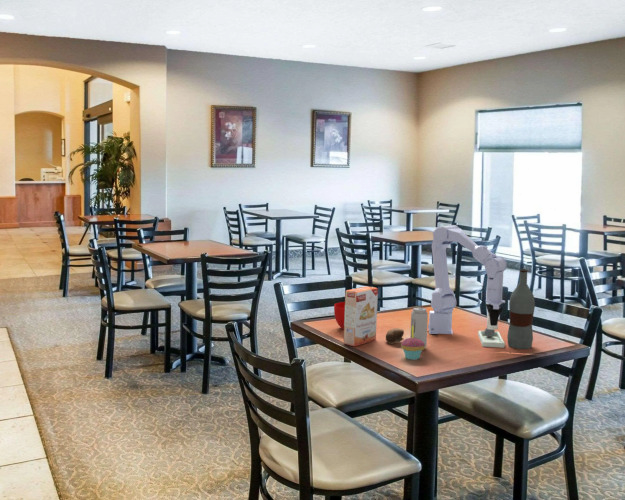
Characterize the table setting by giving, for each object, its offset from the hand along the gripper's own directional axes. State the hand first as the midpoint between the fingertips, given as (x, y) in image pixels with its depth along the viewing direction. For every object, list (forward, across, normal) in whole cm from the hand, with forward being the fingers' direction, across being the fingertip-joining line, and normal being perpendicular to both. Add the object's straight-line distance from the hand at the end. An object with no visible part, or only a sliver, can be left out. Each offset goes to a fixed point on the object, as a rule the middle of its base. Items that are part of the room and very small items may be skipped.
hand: (492, 324), depth 249 cm
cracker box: (+8, -7, +50) cm, 51 cm away
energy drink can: (+8, -11, +28) cm, 31 cm away
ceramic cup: (+8, +15, +55) cm, 58 cm away
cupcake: (+8, -24, +30) cm, 39 cm away
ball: (+8, +9, 0) cm, 12 cm away
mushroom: (+8, -5, +37) cm, 38 cm away
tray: (+8, +4, 0) cm, 9 cm away
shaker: (+2, 0, 0) cm, 2 cm away
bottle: (+8, -2, -10) cm, 13 cm away
